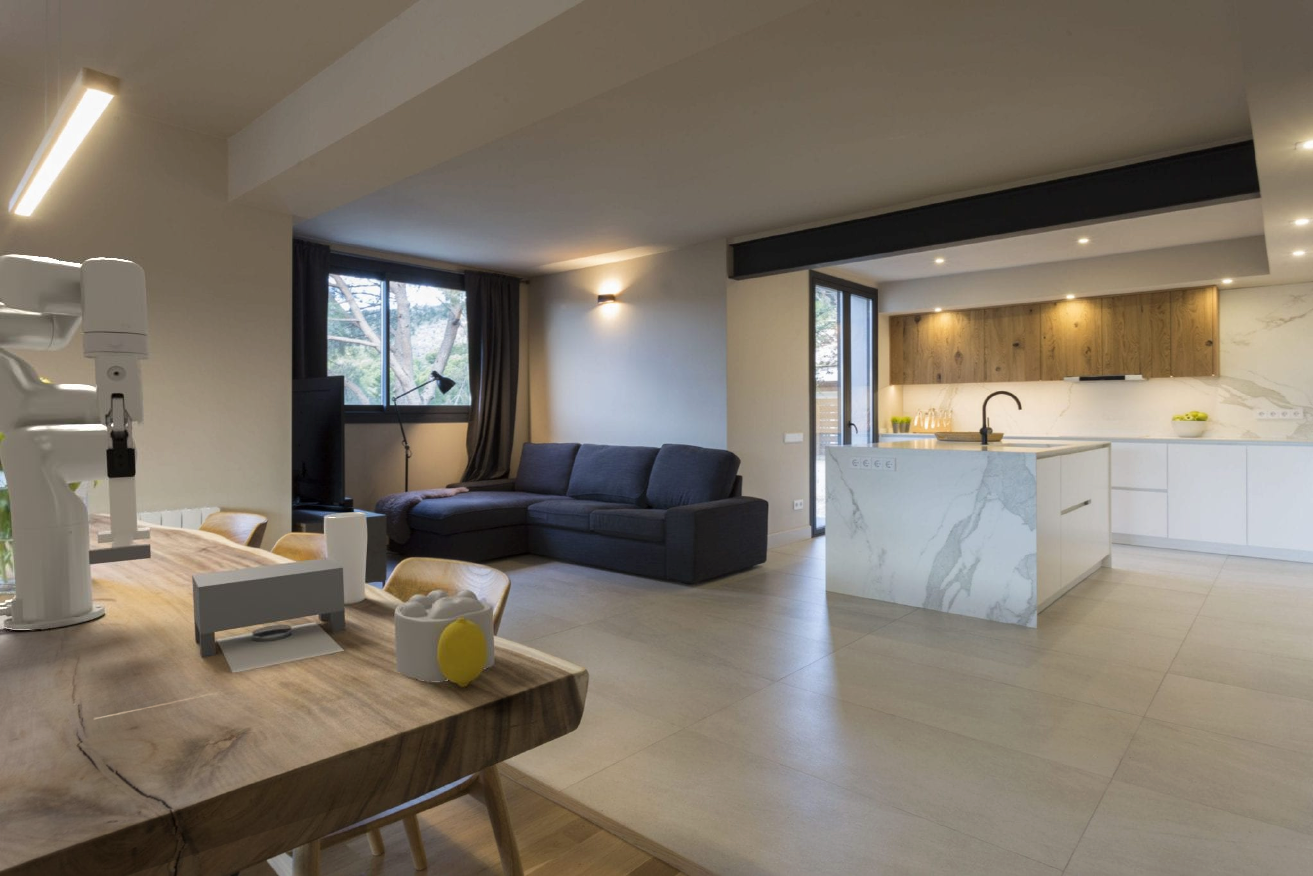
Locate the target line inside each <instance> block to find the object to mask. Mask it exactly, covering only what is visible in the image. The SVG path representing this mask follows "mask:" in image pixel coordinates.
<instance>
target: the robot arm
mask: <svg viewBox="0 0 1313 876" xmlns="http://www.w3.org/2000/svg"><path fill="white" fill-rule="evenodd" d="M146 282H147V281H146V274H145V269H143V267H142V266H141V265H139V264H138V263H135V262H134V261H130V260H124V259H118V258H110V257H109V258H105V257H98V258H97V257H96V258H94V257H93V258H89V259H86V260H85V261H83V262H82V263H81V264H80V263H76V262H75V263H74V262H67V261H61V260H60V261H59V260H57V259H53V258H50V257H44V256H43V257H42V256H40V257H39V256H33V255H22V254H21V255H20V254H6V255H0V434H1V435H3V438H2V440H1V442H0V463H1V466H2V471H3V474H4V478H5V481H6V486H7V492H8V499H9V507H10V509H9V510H10V517H11V518H10V520H11V534H12V552H13V555H12V556H13V569H14V570H13V571H14V572H13V573H14V588H15V589H14V591H15V594H14V596H13V597H12V599H6V600H5V601H4V602H1V603H0V617H1V616H6V617H7V618H6V619H4V620H3V627H4V626H5V627H7V628H12V629H41V630H47V629H48V630H49V628H50V629H55V628H61V627H62V628H63V627H67V626H72V625H77V624H81V623H84V622H88V621H92V620H94V619H97V618H99V617H101V616H103V615H105V612H106V608H105V606H104V605H103V604H101V603H100V604H99V603H93V583H92V567H91V566H92V564H90V565H89V550H91V545H90V543H91V542H90V525H89V524H90V522H89V521H90V520H89V512H88V508H87V505H86V503H85V502H84V500H82V499H81V497H79V495H77V494H76V492H74V491H73V490H72V489H71V488H70V487H69V484H74V483H80V482H81V483H82V482H95V481H96V482H97V481H105V480H107V481H109V478H120V477H134V476H135V477H136V473H137V472H136V470H137V469H136V468H137V467H136V464H137V462H138V451H137V445H136V443H135V440H134V438H133V424H132V422H137V426H138V427H141V426H143V425H144V423H145V421H144V420H145V419H144V394H143V375H142V365H141V361H142V360H149V359H150V357H149V356H150V355H149V330H148V309H147V287H146V284H147V283H146ZM80 326H81V327H82V328H81V329H82V330H81V331H82V348H83V349H82V351H83V353H82V354H83V358H84V359H85V358H86V359H94V375H95V376H94V379H95V386H91V385H88V384H74V383H73V384H71V383H50V382H45V381H43V380H42V379H41V378H40V377H39V375H38V373H37V371H36V369H35V368H34V367H33V366H32V365H31V364H29V363H28V362H27V361H26V360H24V359H23V358H22V357H20V356H19V355H17V354H14V353H12V352H10V351H8V350H19V351H20V350H21V351H22V350H23V351H40V352H41V351H42V352H54V351H55V352H56V351H60V350H63V349H64V348H66V347H67V346H69V344H70V343H71V342H72V341H73V338H74V337H75V335H76V334H77V332H78V330H79V328H80ZM132 440H133V441H134V449H132ZM107 441H108V449H107ZM127 446H128V449H127Z"/></svg>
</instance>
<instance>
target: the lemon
mask: <svg viewBox="0 0 1313 876" xmlns="http://www.w3.org/2000/svg"><path fill="white" fill-rule="evenodd" d="M437 660H438V665H439V668H440V670H441V672H442V674H443V675H444V676H445V677H446V678H447V679H448V680H450V681H449V682H452V683H456V684H457V685H458V686H459V687H460V688H466V687H467V686H468V685H469V683H470V682H472V681H474V680H476V678H478V677H479V676H480V675H481V673H482V672H483V671H484V670H483V669H484V667H485V664H486V660H487V645H486V640H485V636H484V634H483V632H482V630H481V628H480V627H479V626H478V625H476V624H475V623H473V622H471V621H468V620H466V619H465V618H458V619H457V621H455V622H453V623H451V624H450V625H449V626H447V627H446V628H445V630H444V631H443V632H442V634H441V636H440V639H439V643H438V648H437ZM465 686H466V687H465Z"/></svg>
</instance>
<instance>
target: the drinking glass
mask: <svg viewBox="0 0 1313 876" xmlns="http://www.w3.org/2000/svg"><path fill="white" fill-rule="evenodd" d="M367 523H368V522H367V514H366V512H361V511H359V512H357V511H355V512H340V513H333V514H327V515H324V516H323V534H324V536H323V537H324V546H325V547H324V548H325V554H326V555H325V556H326V558H328V559H330V560H331V561H333V562H335V563H336V564H338V565H340V566H341V567H343V583H344V605H351V604H358V603H360V602H362V601H364V600H365V599H366V568H367V567H366V566H367V552H368V551H367V548H368V546H367V545H368V524H367Z"/></svg>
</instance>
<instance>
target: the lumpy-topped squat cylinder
mask: <svg viewBox="0 0 1313 876" xmlns="http://www.w3.org/2000/svg"><path fill="white" fill-rule="evenodd" d="M393 616H394V617H393V618H394V638H395V639H394V641H395V670H396V671H397V673H399V672H400V673H399V674H401V673H402V674H401V675H403V674H404V675H403V676H405V675H406V676H405V677H407V676H409V677H408V678H410V677H412V678H411V679H413V678H416V679H420V680H424V681H445V680H447V678H446V677H445V676H444V675H443V674H442V672H441V670H440V668H439V665H438V660H437V648H438V643H439V639H440V636H441V634H442V632H443V631H444V630H445V628H446V627H447V626H449V625H450V624H451V623H453V622H455V621H457V619H458V618H465V619H466V620H468V621H471V622H473V623H475V624H476V625H478V626H479V627H480V628H481V630H482V632H483V634H484V636H485V640H486V645H487V660H486V664H485V667H484V668H487V667H490V666H491V665H493V664H494V662H495V659H496V658H495V637H494V635H495V634H494V629H495V628H494V609H493V606H492V605H491V604H490V603H488V602H486V601H482V600H479V599H478V596H477V594H476V593H474V592H473V591H472V590H471V589H464V590H461V591H459V592H458V593H456V594H454V596H449V594H448V593H447V592H445V591H444V590H443V589H435V590H432V591H430V592H429V593H428V594H427V595H423V594H420V593H419V594H417V593H416V594H414V595H412V596H411V597H410V598H409V599H408V601H405V602H403V603H400V604H399V605H397V607H395V610H394V615H393ZM494 665H495V664H494ZM494 665H493V666H494ZM490 668H491V667H490ZM416 679H415V680H416Z"/></svg>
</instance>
